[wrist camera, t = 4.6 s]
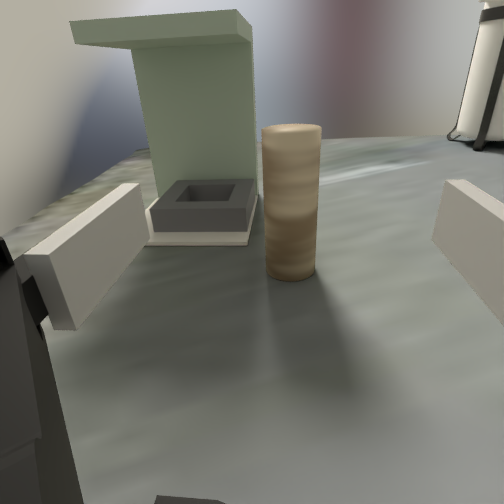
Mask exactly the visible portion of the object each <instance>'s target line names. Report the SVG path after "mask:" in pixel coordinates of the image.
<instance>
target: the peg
mask: <svg viewBox="0 0 504 504" xmlns="http://www.w3.org/2000/svg"><path fill="white" fill-rule="evenodd" d="M320 147H321V127H320V126H317V125H310V124H283V125H274V126H269V127H265V128H263V129H262V161H263V191H264V221H265V251H266V271H267V273H268V274H269V275H270V276H271V277H273V278H275V279H278V280H282V281H300V280H304V279H306V278H308V277H310V276H311V275H312V274H313V273H314V271H315V252H316V231H317V210H318V189H319V168H320Z"/></svg>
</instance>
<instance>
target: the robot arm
mask: <svg viewBox="0 0 504 504" xmlns="http://www.w3.org/2000/svg"><path fill="white" fill-rule="evenodd" d="M149 239H150V234H149V229H148V224H147V220H146V215H145V210H144V205H143V200H142V195H141V190H140V185H139V183H137V184H122V185H120V186H119V187H118V188H116V189H115V190H113V191H112V192H110V193H109V194H108V195H106V196H105V197H103V198H102V199H101V200H99V201H98V202H96V203H95V204H94V205H92V206H91V207H89V208H88V209H86V210H85V211H84V212H82V213H81V214H79V215H78V216H77V217H75V218H74V219H72V220H71V221H70V222H68V223H67V224H65V225H64V226H62V227H61V228H60V229H58V230H57V231H55V232H54V233H53V234H51V235H49V236H48V237H46V238H45V239H44V240H42V241H41V242H40V243H38V244H36V245H35V246H34V247H33V248H31V249H29V250H28V251H27V252H25V253H24V254H22V255H21V256H19V257H18V258H17V259H15V260H14V261H13V259H12V257H11V255H10V252H9V250H8V248H7V245H6V243H5V241H4V239H3V238H2V237H0V504H84V502H83V498H82V494H81V489H80V485H79V481H78V476H77V472H76V468H75V464H74V459H73V455H72V451H71V446H70V442H69V438H68V434H67V429H66V425H65V421H64V416H63V412H62V408H61V403H60V399H59V395H58V391H57V386H56V382H55V378H54V373H53V369H52V365H51V361H50V356H49V352H48V348H47V343H46V339H45V335H44V331H43V329H42V327H41V324H40V323H41V322H42V321H43V320H44V318H45V317H46V316H47V315H48V316H49V318H50V321H51V323H52V326H53V328H54V330H76V331H77V330H78V328H79V327H80V326H81V325H82V323H83V322H84V321H85V320H86V318H87V317H88V316H89V315H90V313H91V312H92V311H93V310H94V308H95V307H96V306H97V305H98V303H99V302H100V301H101V300H102V298H103V297H104V296H105V295H106V293H107V292H108V291H109V290H110V288H111V287H112V286H113V285H114V283H115V282H116V281H117V280H118V278H119V277H120V276H121V275H122V273H123V272H124V271H125V270H126V268H127V267H128V266H129V265H130V263H131V262H132V261H133V260H134V258H135V257H136V256H137V255H138V253H139V252H140V251H141V249H142V248H143V247H144V246H145V244H146V243H147V242H148V241H149ZM431 240H432V241H433V242H434V244H435V245H436V246H437V247H438V248H439V250H440V251H441V252H442V253H443V254H444V256H445V257H446V258H447V259H448V260H449V262H450V263H451V264H452V265H453V266H454V267H455V269H456V270H457V271H458V272H459V273H460V275H461V276H462V277H463V278H464V279H465V281H466V282H467V283H468V284H469V285H470V287H471V288H472V289H473V290H474V291H475V292H476V294H477V295H478V296H479V297H480V298H481V300H482V301H483V302H484V303H485V304H486V306H487V307H488V308H489V309H490V310H491V312H492V313H493V314H494V315H495V316H496V318H497V319H498V320H499V321H500V322H501V323H502V325H503V326H504V204H503V203H501V202H500V201H498V200H497V199H495V198H493V197H492V196H490V195H489V194H487V193H485V192H484V191H482V190H481V189H479V188H478V187H476V186H474V185H473V184H471V183H470V182H468V181H466V180H445V183H444V188H443V192H442V196H441V200H440V205H439V209H438V213H437V217H436V222H435V226H434V230H433V234H432V239H431ZM154 504H225V503H223V502H220V501H218V500H208V499H196V498H183V497H171V496H159V495H157V497H156V500H155V503H154Z"/></svg>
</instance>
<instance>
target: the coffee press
mask: <svg viewBox="0 0 504 504" xmlns="http://www.w3.org/2000/svg"><path fill="white" fill-rule="evenodd" d="M479 2H485V6H484V10H482V13H481V16H480V21H479V24H480V26H479V30H478V33H477V37H476V41H475V46H474V50H473V54H472V59H471V64H470V68H469V72H468V76H467V81H466V85H465V89H464V94H463V98H462V102H461V107H460V111H459V116H458V120H457V123H456V126H455V128H454V129H453V130H452V131H451V132H450V133H449V134H448V135H447V139H448V140H454V139H456V138H458V137H459V136H460V135H462V136H464V137H467V138H471V139H476V140H475V142H474V145H473V150H480V151H482V150H483V148H484V146H485V144H486V143H487V142H488V141H504V0H479ZM456 128H457V131H458V133H459V134H460V135H459V136H457V137H455V138H454V139H452V138H451V137H450V135H451V133H452V132H453V131H454V130H455V129H456Z"/></svg>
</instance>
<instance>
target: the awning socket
mask: <svg viewBox="0 0 504 504" xmlns="http://www.w3.org/2000/svg"><path fill="white" fill-rule="evenodd" d="M69 22H70V26H71V30H72V33H73V37H74V41H75V44H80V45H90V46H100V47H111V48H121V49H131V53H132V58H133V64H134V69H135V74H136V80H137V85H138V90H139V95H140V101H141V106H142V111H143V117H144V122H145V127H146V132H147V138H148V143H149V149H150V154H151V159H152V165H153V170H154V175H155V180H156V186H157V191H158V196H159V197H158V198H157V199H156V200H155V201H154V202H153V203H152V204H151V205H150V206H149V207H148V208H147V209H146V210H145V215H146V220H147V224H148V229H149V234H150V239H149V241H148V242H147V243H146V244H145V246H247V244H248V240H249V235H250V231H251V226H252V221H253V217H254V212H255V208H256V203H257V199H258V194H259V188H258V163H257V139H256V113H255V88H254V63H253V38H252V26H251V25H250V24H249V23H248V22H247V21H246V19H245V18H244V17H243V16H242V15H241V14H240V13H239V12H238V11H237V10H236V9H233V10H218V11H205V12H191V13H178V14H163V15H149V16H135V17H123V18H108V19H94V20H80V21H69Z"/></svg>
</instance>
